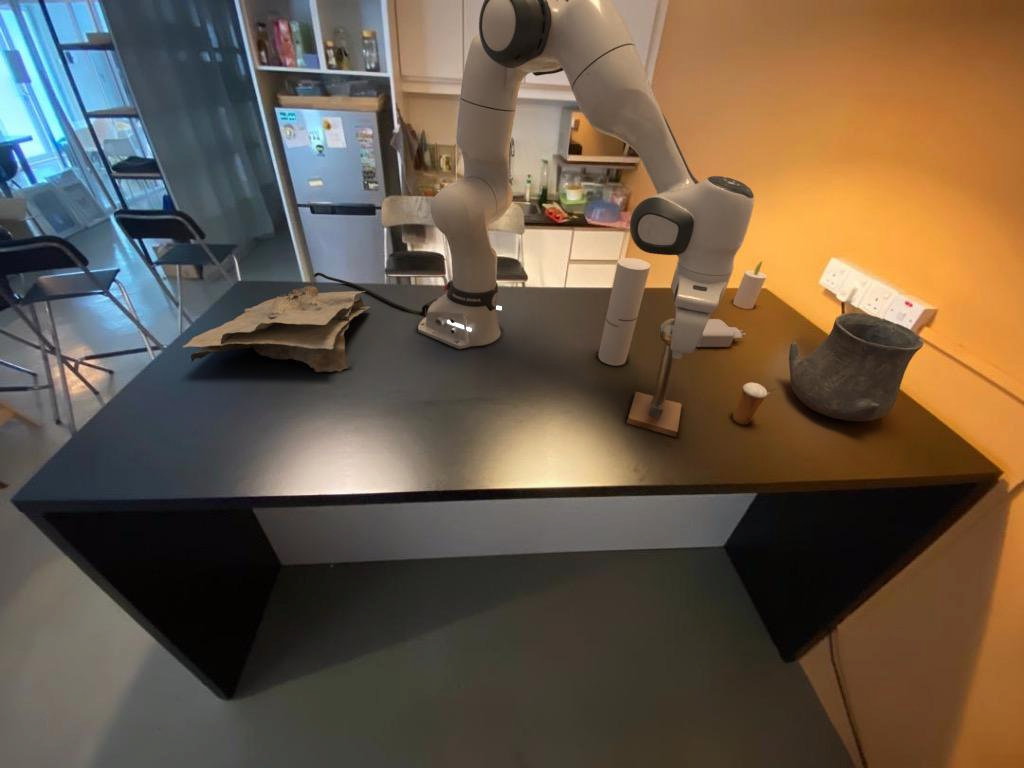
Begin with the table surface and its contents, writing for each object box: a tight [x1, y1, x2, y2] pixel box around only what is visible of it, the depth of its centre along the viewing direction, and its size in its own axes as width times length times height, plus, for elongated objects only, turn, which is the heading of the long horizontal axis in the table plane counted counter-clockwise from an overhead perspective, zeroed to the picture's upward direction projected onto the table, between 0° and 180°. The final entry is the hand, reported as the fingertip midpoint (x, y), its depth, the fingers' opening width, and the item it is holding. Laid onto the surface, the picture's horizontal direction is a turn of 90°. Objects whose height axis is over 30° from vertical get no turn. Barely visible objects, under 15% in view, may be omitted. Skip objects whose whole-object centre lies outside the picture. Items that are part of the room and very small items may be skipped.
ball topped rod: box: [652, 317, 675, 408], centre depth 84 cm, size 21×5×5 cm
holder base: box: [626, 391, 682, 438], centre depth 90 cm, size 10×10×4 cm
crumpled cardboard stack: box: [182, 285, 370, 373], centre depth 105 cm, size 35×16×32 cm
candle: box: [732, 260, 767, 310], centre depth 136 cm, size 6×6×15 cm
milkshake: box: [732, 381, 776, 425], centre depth 89 cm, size 4×5×10 cm
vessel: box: [788, 312, 925, 422], centre depth 92 cm, size 22×22×20 cm
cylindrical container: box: [597, 257, 651, 366], centre depth 102 cm, size 7×7×25 cm
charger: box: [696, 318, 747, 348], centre depth 118 cm, size 5×9×15 cm
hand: (677, 350), depth 81 cm, fingers open, 4 cm apart
